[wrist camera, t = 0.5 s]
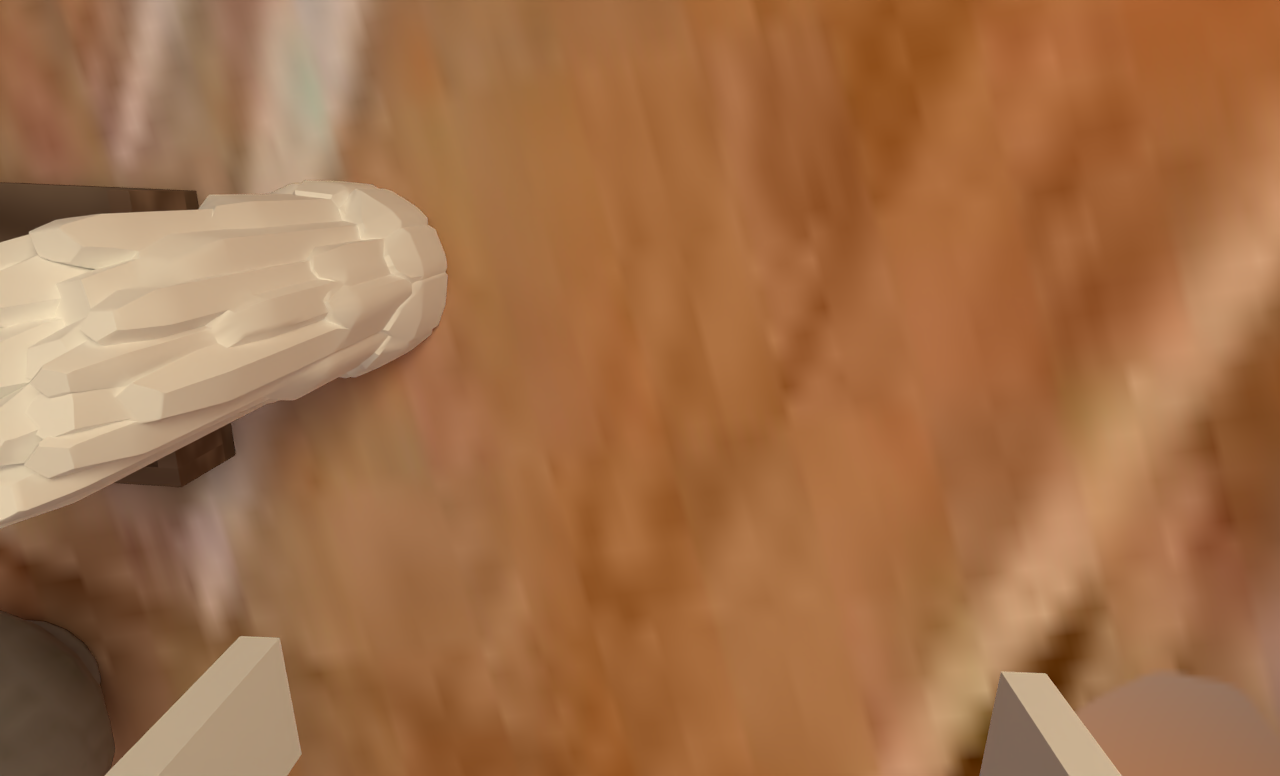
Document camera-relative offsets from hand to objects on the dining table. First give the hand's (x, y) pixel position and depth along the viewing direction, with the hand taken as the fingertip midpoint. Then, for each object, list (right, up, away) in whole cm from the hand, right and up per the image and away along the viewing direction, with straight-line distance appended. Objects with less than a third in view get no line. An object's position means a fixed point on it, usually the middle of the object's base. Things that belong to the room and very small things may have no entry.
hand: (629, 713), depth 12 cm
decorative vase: (-17, +13, +28) cm, 35 cm away
